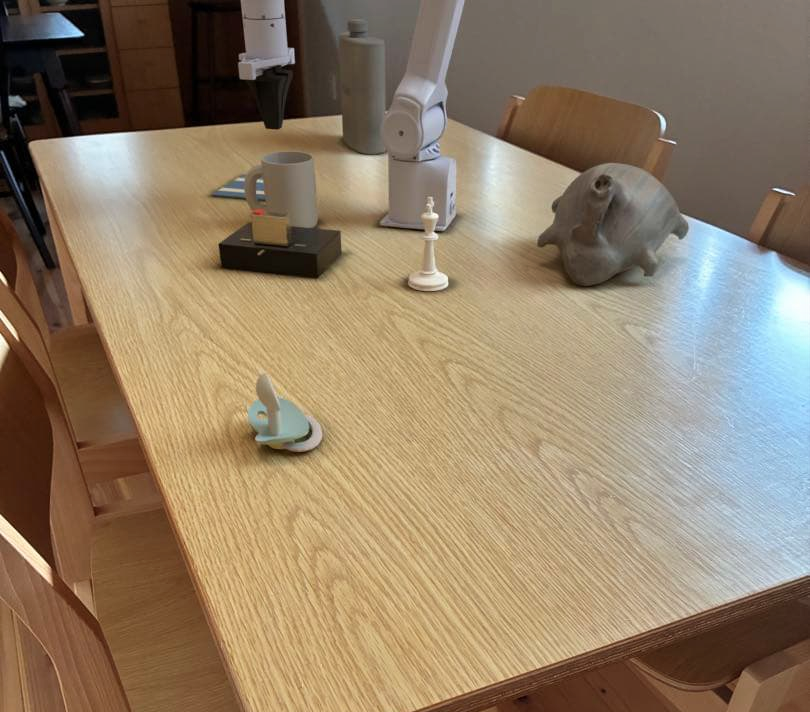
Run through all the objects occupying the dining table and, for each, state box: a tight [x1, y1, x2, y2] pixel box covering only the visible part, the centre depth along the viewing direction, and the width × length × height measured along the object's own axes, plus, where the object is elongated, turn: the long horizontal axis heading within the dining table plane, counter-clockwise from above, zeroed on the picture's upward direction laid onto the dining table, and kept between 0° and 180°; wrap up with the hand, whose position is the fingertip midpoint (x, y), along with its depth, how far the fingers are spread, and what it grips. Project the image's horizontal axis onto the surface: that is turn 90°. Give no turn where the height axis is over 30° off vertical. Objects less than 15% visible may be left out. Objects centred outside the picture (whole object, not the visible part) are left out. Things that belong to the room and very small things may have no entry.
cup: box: [244, 150, 319, 228], centre depth 112 cm, size 7×10×9 cm
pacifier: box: [247, 372, 323, 453], centre depth 68 cm, size 7×6×6 cm
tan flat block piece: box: [250, 209, 292, 247], centre depth 99 cm, size 4×2×4 cm, turn 75°
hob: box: [217, 221, 343, 279], centre depth 102 cm, size 13×11×3 cm
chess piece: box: [407, 197, 449, 292], centre depth 95 cm, size 5×5×10 cm
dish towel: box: [211, 174, 265, 202], centre depth 130 cm, size 9×12×1 cm
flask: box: [338, 18, 387, 155], centre depth 146 cm, size 15×6×20 cm, turn 20°
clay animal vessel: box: [537, 162, 690, 287], centre depth 101 cm, size 18×16×14 cm
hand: (273, 128), depth 117 cm, fingers closed
